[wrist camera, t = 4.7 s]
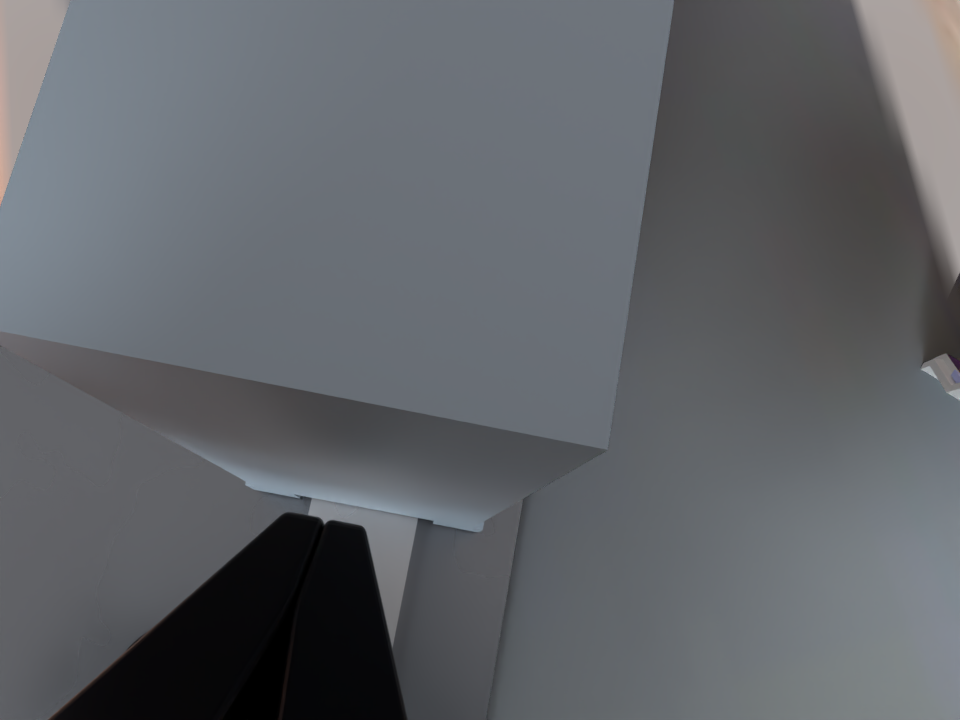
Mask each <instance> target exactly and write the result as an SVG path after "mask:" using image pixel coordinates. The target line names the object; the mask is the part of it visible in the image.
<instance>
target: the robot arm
mask: <svg viewBox="0 0 960 720" xmlns="http://www.w3.org/2000/svg"><path fill="white" fill-rule="evenodd" d="M48 720H408V716H407V711H406V707H405V702H404V698H403V693H402V689H401V684H400V680H399V675H398V671H397V666H396V662H395V657H394V653H393V648H392V644H391V640H390V635H389V631H388V626H387V622H386V617H385V613H384V608H383V604H382V599H381V595H380V590H379V586H378V581H377V577H376V572H375V568H374V563H373V559H372V554H371V550H370V545H369V541H368V536H367V532H366V530H365V528H364V527H363V526H361V525H357V524H352V523H347V522H342V521H336V520H329V521H327V522H326V523H325V524H324V522H323V520H322V519H321V518H319V517H315V516H310V515H305V514H300V513H294V512H286V513H284V514H282V515H281V516H279V517H278V518H277V519H276V520H275V521H274V522H273V523H271V524H270V525H269V526H268V527H267V528H266V529H265V530H263V531H262V532H261V533H260V534H259V535H258V536H257V537H255V538H254V539H253V540H252V541H251V542H250V543H249V544H247V545H246V546H245V547H244V548H243V549H242V550H241V551H240V552H238V553H237V554H236V555H235V556H234V557H233V558H232V559H230V560H229V561H228V562H227V563H226V564H225V565H224V566H222V567H221V568H220V569H219V570H218V571H217V572H216V573H214V574H213V575H212V576H211V577H210V578H209V579H208V580H206V581H205V582H204V583H203V584H202V585H201V586H200V587H198V588H197V589H196V590H195V591H194V592H193V593H192V594H190V595H189V596H188V597H187V598H186V599H185V600H184V601H182V602H181V603H180V604H179V605H178V606H177V607H176V608H174V609H173V610H172V611H171V612H170V613H169V614H168V615H166V616H165V617H164V618H163V619H162V620H161V621H160V622H158V623H157V624H156V625H155V626H154V627H153V628H152V629H150V630H149V631H148V632H147V633H146V634H145V635H144V636H142V637H141V638H140V639H139V640H138V641H137V642H136V643H134V644H133V645H132V646H131V647H130V648H129V649H128V650H126V651H125V652H124V653H123V654H122V655H121V656H120V657H118V658H117V659H116V660H115V661H114V662H113V663H112V664H111V665H109V666H108V667H107V668H106V669H105V670H104V671H103V672H101V673H100V674H99V675H98V676H97V677H96V678H95V679H93V680H92V681H91V682H90V683H89V684H88V685H87V686H85V687H84V688H83V689H82V690H81V691H80V692H79V693H77V694H76V695H75V696H74V697H73V698H72V699H71V700H69V701H68V702H67V703H66V704H65V705H64V706H63V707H61V708H60V709H59V710H58V711H57V712H56V713H55V714H53V715H52V716H51V717H50V718H49V719H48Z"/></svg>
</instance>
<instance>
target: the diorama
mask: <svg viewBox="0 0 960 720" xmlns="http://www.w3.org/2000/svg"><path fill="white" fill-rule="evenodd" d="M957 280H958V283H959V286H960V273H959V275H958V277H957ZM921 370H923V371H924V372H926V373H928V374H930V375H931V376H933V377H935V378H936V379H938V380H939V381H940V383H941V385H942V386H943V388H944V389H945V391H946V393H948V394H950V395H951V396H953V397H955V398H956V399H958V400H960V361H959V360H957V359H955V358H954V357H952V356H950V355H948V354H947V353H945V354H943V355H940V356H938V357H935V358H934V359H932V360H930V361H927V362H925V363H923V365H922V367H921Z"/></svg>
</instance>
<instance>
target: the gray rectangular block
mask: <svg viewBox="0 0 960 720" xmlns="http://www.w3.org/2000/svg"><path fill="white" fill-rule="evenodd" d="M673 6H674V0H71V1H70V4H69V7H68V10H67V13H66V15H65V18H64V21H63V24H62V27H61V30H60V33H59V36H58V39H57V42H56V45H55V48H54V51H53V54H52V57H51V59H50V63H49V65H48V68H47V71H46V74H45V77H44V80H43V83H42V86H41V89H40V92H39V95H38V98H37V100H36V103H35V106H34V109H33V112H32V115H31V118H30V121H29V124H28V127H27V130H26V133H25V136H24V139H23V142H22V144H21V147H20V150H19V153H18V156H17V159H16V162H15V165H14V168H13V171H12V174H11V177H10V180H9V183H8V185H7V188H6V191H5V194H4V197H3V200H2V203H1V206H0V346H2V347H4V348H6V349H8V350H10V351H11V352H13V353H15V354H17V355H19V356H20V357H22V358H24V359H26V360H28V361H29V362H31V363H33V364H35V365H37V366H38V367H40V368H42V369H44V370H46V371H47V372H49V373H51V374H53V375H55V376H56V377H58V378H60V379H62V380H64V381H65V382H67V383H69V384H71V385H73V386H74V387H76V388H78V389H80V390H82V391H83V392H85V393H87V394H89V395H91V396H92V397H94V398H96V399H98V400H100V401H102V402H103V403H105V404H107V405H109V406H111V407H112V408H114V409H116V410H118V411H120V412H121V413H123V414H125V415H127V416H129V417H130V418H132V419H134V420H136V421H138V422H139V423H141V424H143V425H145V426H147V427H148V428H150V429H152V430H154V431H156V432H157V433H159V434H161V435H163V436H165V437H166V438H168V439H170V440H172V441H174V442H175V443H177V444H179V445H181V446H183V447H185V448H186V449H188V450H190V451H192V452H194V453H195V454H197V455H199V456H201V457H203V458H204V459H206V460H208V461H210V462H212V463H213V464H215V465H217V466H219V467H221V468H222V469H224V470H226V471H228V472H230V473H231V474H233V475H235V476H237V477H239V478H240V479H242V480H244V481H246V482H245V485H246V486H248V487H250V488H252V489H254V490H258V491H263V492H269V493H274V494H279V495H284V496H290V497H295V498H300V497H301V496H306V497H311V498H316V499H321V500H327V501H332V502H337V503H342V504H348V505H353V506H358V507H363V508H369V509H374V510H379V511H384V512H390V513H395V514H400V515H405V516H411V517H416V518H421V519H426V520H432V521H433V524H437V525H442V526H447V527H452V528H458V529H463V530H468V531H473V532H480V531H482V530H483V526H484V521H485V520H487V519H489V518H491V517H492V516H494V515H496V514H498V513H499V512H501V511H503V510H505V509H506V508H508V507H510V506H511V505H513V504H515V503H517V502H518V501H520V500H522V499H524V498H525V497H527V496H529V495H531V494H532V493H534V492H536V491H538V490H539V489H541V488H543V487H544V486H546V485H548V484H550V483H551V482H553V481H555V480H557V479H558V478H560V477H562V476H564V475H565V474H567V473H569V472H570V471H572V470H574V469H576V468H577V467H579V466H581V465H583V464H584V463H586V462H588V461H590V460H591V459H593V458H595V457H597V456H598V455H600V454H602V453H603V452H605V451H607V450H608V447H609V440H610V433H611V426H612V419H613V413H614V406H615V399H616V392H617V386H618V379H619V372H620V365H621V358H622V352H623V345H624V338H625V331H626V324H627V318H628V311H629V304H630V297H631V291H632V284H633V277H634V270H635V263H636V257H637V250H638V243H639V236H640V230H641V223H642V216H643V209H644V202H645V196H646V189H647V182H648V175H649V168H650V162H651V155H652V148H653V141H654V135H655V128H656V121H657V114H658V107H659V101H660V94H661V87H662V80H663V74H664V67H665V60H666V53H667V46H668V40H669V33H670V26H671V19H672V12H673Z"/></svg>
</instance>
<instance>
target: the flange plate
mask: <svg viewBox="0 0 960 720" xmlns="http://www.w3.org/2000/svg"><path fill="white" fill-rule="evenodd" d="M245 482H246V481H244V480H242V479H240V478H239V477H237V476H235V475H233V474H231V473H230V472H228V471H226V470H224V469H222V468H221V467H219V466H217V465H215V464H213V463H212V462H210V461H208V460H206V459H204V458H203V457H201V456H199V455H197V454H195V453H194V452H192V451H190V450H188V449H186V448H185V447H183V446H181V445H179V444H177V443H175V442H174V441H172V440H170V439H168V438H166V437H165V436H163V435H161V434H159V433H157V432H156V431H154V430H152V429H150V428H148V427H147V426H145V425H143V424H141V423H139V422H138V421H136V420H134V419H132V418H130V417H129V416H127V415H125V414H123V413H121V412H120V411H118V410H116V409H114V408H112V407H111V406H109V405H107V404H105V403H103V402H102V401H100V400H98V399H96V398H94V397H92V396H91V395H89V394H87V393H85V392H83V391H82V390H80V389H78V388H76V387H74V386H73V385H71V384H69V383H67V382H65V381H64V380H62V379H60V378H58V377H56V376H55V375H53V374H51V373H49V372H47V371H46V370H44V369H42V368H40V367H38V366H37V365H35V364H33V363H31V362H29V361H28V360H26V359H24V358H22V357H20V356H19V355H17V354H15V353H13V352H11V351H10V350H8V349H6V348H4V347H2V346H0V720H48V719H49V718H50V717H51V716H52V715H53V714H55V713H56V712H57V711H58V710H59V709H60V708H61V707H63V706H64V705H65V704H66V703H67V702H68V701H69V700H71V699H72V698H73V697H74V696H75V695H76V694H77V693H79V692H80V691H81V690H82V689H83V688H84V687H85V686H87V685H88V684H89V683H90V682H91V681H92V680H93V679H95V678H96V677H97V676H98V675H99V674H100V673H101V672H103V671H104V670H105V669H106V668H107V667H108V666H109V665H111V664H112V663H113V662H114V661H115V660H116V659H117V658H118V657H120V656H121V655H122V654H123V653H124V652H125V651H126V650H128V649H129V648H130V647H131V646H132V645H133V644H134V643H136V642H137V641H138V640H139V639H140V638H141V637H142V636H144V635H145V634H146V633H147V632H148V631H149V630H150V629H152V628H153V627H154V626H155V625H156V624H157V623H158V622H160V621H161V620H162V619H163V618H164V617H165V616H166V615H168V614H169V613H170V612H171V611H172V610H173V609H174V608H176V607H177V606H178V605H179V604H180V603H181V602H182V601H184V600H185V599H186V598H187V597H188V596H189V595H190V594H192V593H193V592H194V591H195V590H196V589H197V588H198V587H200V586H201V585H202V584H203V583H204V582H205V581H206V580H208V579H209V578H210V577H211V576H212V575H213V574H214V573H216V572H217V571H218V570H219V569H220V568H221V567H222V566H224V565H225V564H226V563H227V562H228V561H229V560H230V559H232V558H233V557H234V556H235V555H236V554H237V553H238V552H240V551H241V550H242V549H243V548H244V547H245V546H246V545H247V544H249V543H250V542H251V541H252V540H253V539H254V538H255V537H257V536H258V535H259V534H260V533H261V532H262V531H263V530H265V529H266V528H267V527H268V526H269V525H270V524H271V523H273V522H274V521H275V520H276V519H277V518H278V517H279V516H281V515H282V514H284V513H286V512H294V513H300V514H305V515H310V516H315V517H319V518H321V519H322V520H323V522H324V524H325V523H326V522H327V521H329V520H336V521H342V522H347V523H352V524H357V525H361V526H363V527H364V528H365V530H366V532H367V536H368V541H369V545H370V550H371V554H372V559H373V563H374V568H375V572H376V577H377V581H378V586H379V590H380V595H381V599H382V604H383V608H384V613H385V617H386V622H387V626H388V631H389V635H390V640H391V644H392V648H393V653H394V657H395V662H396V666H397V671H398V675H399V680H400V684H401V689H402V693H403V698H404V702H405V707H406V711H407V716H408V720H486V717H487V711H488V705H489V700H490V694H491V688H492V682H493V676H494V670H495V664H496V658H497V652H498V646H499V640H500V634H501V628H502V623H503V617H504V611H505V605H506V599H507V593H508V587H509V581H510V575H511V569H512V563H513V557H514V551H515V546H516V540H517V534H518V528H519V522H520V516H521V510H522V504H523V499H522V500H520V501H518V502H517V503H515V504H513V505H511V506H510V507H508V508H506V509H505V510H503V511H501V512H499V513H498V514H496V515H494V516H492V517H491V518H489V519H487V520H485V521H484V526H483V530H482V531H480V532H473V531H468V530H463V529H458V528H452V527H447V526H442V525H437V524H433V521H432V520H426V519H421V518H416V517H411V516H405V515H400V514H395V513H390V512H384V511H379V510H374V509H369V508H363V507H358V506H353V505H348V504H342V503H337V502H332V501H327V500H321V499H316V498H311V497H306V496H301V497H300V498H295V497H290V496H284V495H279V494H274V493H269V492H263V491H258V490H254V489H252V488H250V487H248V486H246V485H245Z"/></svg>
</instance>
